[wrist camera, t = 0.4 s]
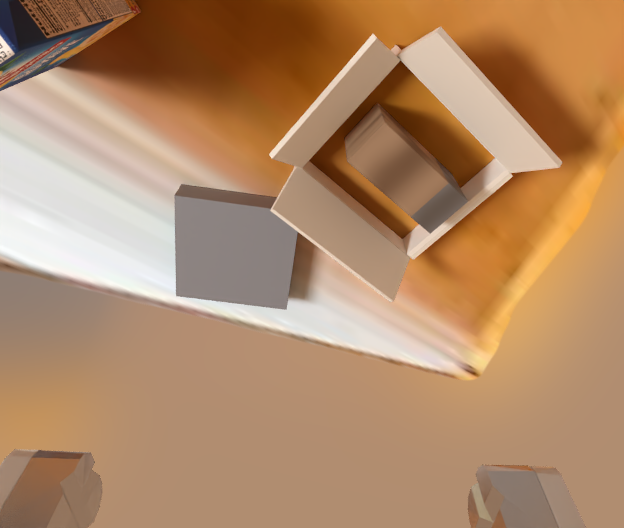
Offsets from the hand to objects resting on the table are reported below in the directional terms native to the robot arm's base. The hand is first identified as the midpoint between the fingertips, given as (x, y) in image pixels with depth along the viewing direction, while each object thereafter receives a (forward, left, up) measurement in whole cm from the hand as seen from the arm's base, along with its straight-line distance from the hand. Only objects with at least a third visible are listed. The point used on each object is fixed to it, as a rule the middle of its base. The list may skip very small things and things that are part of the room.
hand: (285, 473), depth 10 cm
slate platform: (+22, -6, -45) cm, 50 cm away
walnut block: (+8, +11, -45) cm, 47 cm away
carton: (+7, +10, -45) cm, 46 cm away
